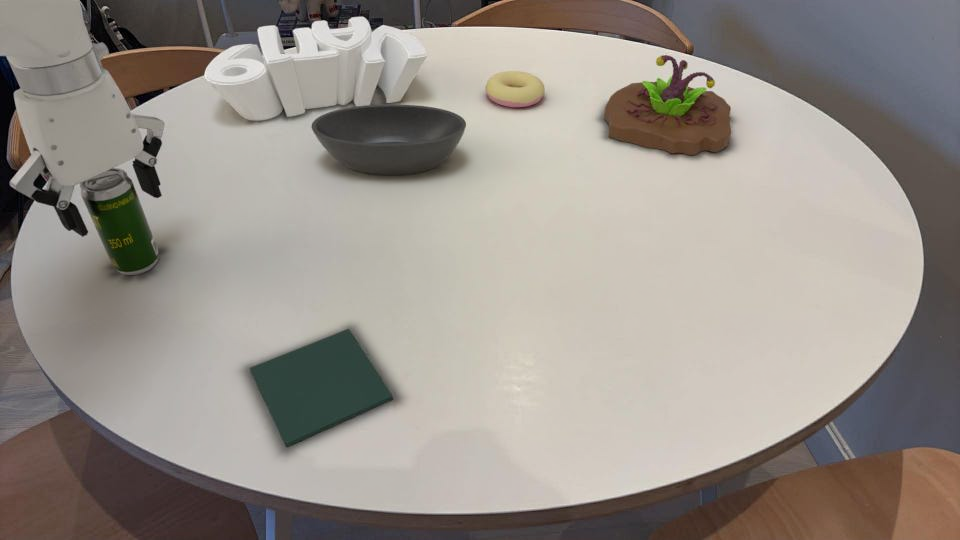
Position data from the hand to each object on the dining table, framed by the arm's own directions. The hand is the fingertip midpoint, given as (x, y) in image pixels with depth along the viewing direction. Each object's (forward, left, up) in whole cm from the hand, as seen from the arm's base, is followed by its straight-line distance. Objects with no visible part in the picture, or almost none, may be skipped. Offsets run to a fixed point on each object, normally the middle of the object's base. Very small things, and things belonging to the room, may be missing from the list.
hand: (116, 211), depth 81 cm
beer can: (0, 0, -8) cm, 8 cm away
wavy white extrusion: (+36, +30, -8) cm, 47 cm away
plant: (+80, -7, -8) cm, 81 cm away
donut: (+64, +13, -8) cm, 66 cm away
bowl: (+37, +5, -8) cm, 38 cm away
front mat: (+12, -30, -8) cm, 33 cm away
